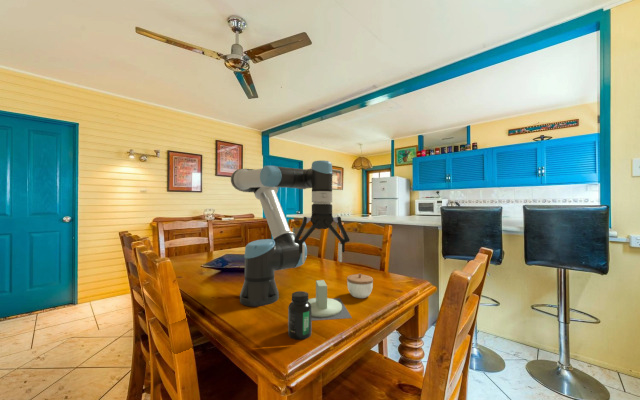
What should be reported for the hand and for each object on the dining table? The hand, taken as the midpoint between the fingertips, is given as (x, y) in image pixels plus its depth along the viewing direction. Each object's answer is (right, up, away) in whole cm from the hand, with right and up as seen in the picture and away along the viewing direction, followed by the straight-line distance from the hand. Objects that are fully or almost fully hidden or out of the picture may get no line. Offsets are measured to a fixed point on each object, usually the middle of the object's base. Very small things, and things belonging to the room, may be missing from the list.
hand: (321, 261), depth 94 cm
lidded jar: (+16, -18, +13) cm, 27 cm away
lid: (0, -17, 0) cm, 17 cm away
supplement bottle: (-7, -17, -18) cm, 26 cm away
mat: (0, -17, 0) cm, 17 cm away
